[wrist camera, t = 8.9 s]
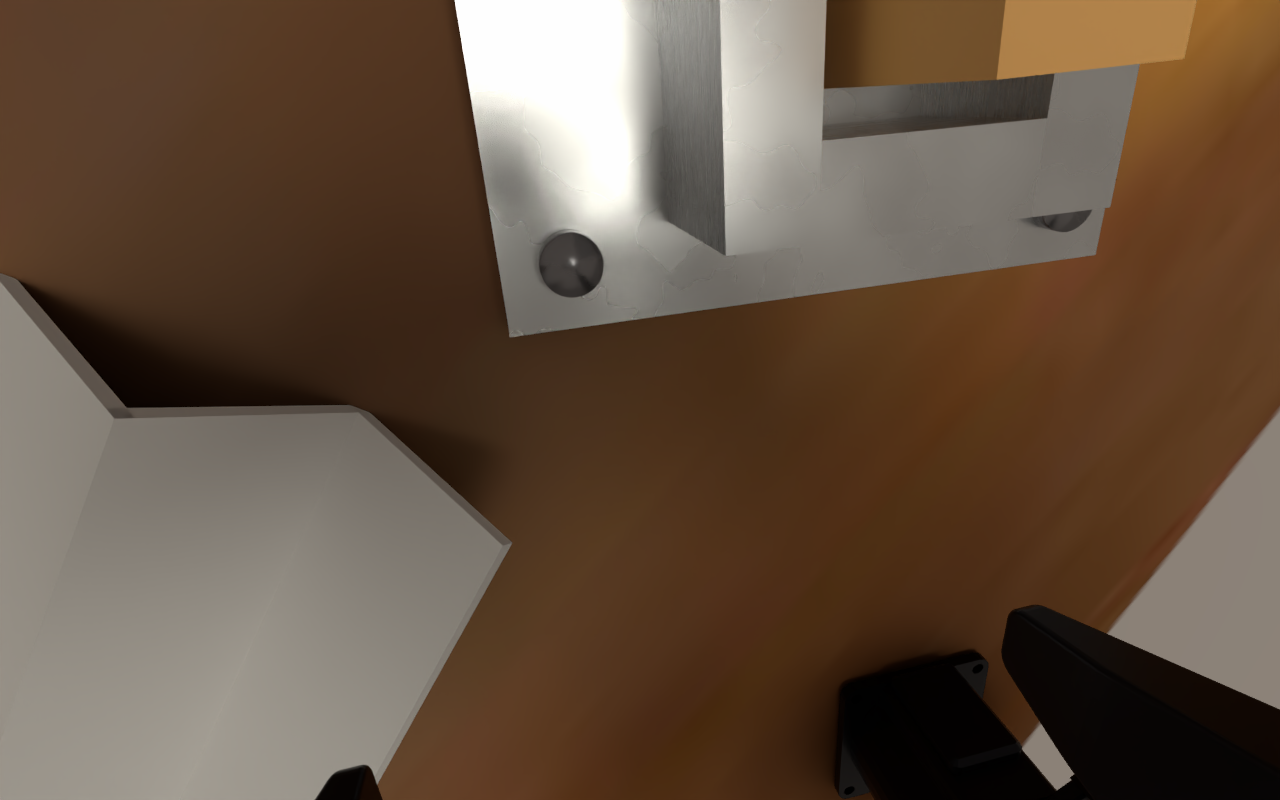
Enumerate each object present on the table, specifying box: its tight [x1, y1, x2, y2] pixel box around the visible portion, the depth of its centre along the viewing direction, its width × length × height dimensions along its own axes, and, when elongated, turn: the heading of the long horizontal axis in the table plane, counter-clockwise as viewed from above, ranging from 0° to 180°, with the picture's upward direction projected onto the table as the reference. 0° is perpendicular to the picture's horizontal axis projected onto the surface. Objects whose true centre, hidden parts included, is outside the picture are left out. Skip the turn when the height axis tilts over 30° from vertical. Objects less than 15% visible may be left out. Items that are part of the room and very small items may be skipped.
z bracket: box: [0, 273, 512, 800], centre depth 19 cm, size 12×25×6 cm
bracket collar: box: [455, 0, 1140, 337], centre depth 15 cm, size 14×18×6 cm
